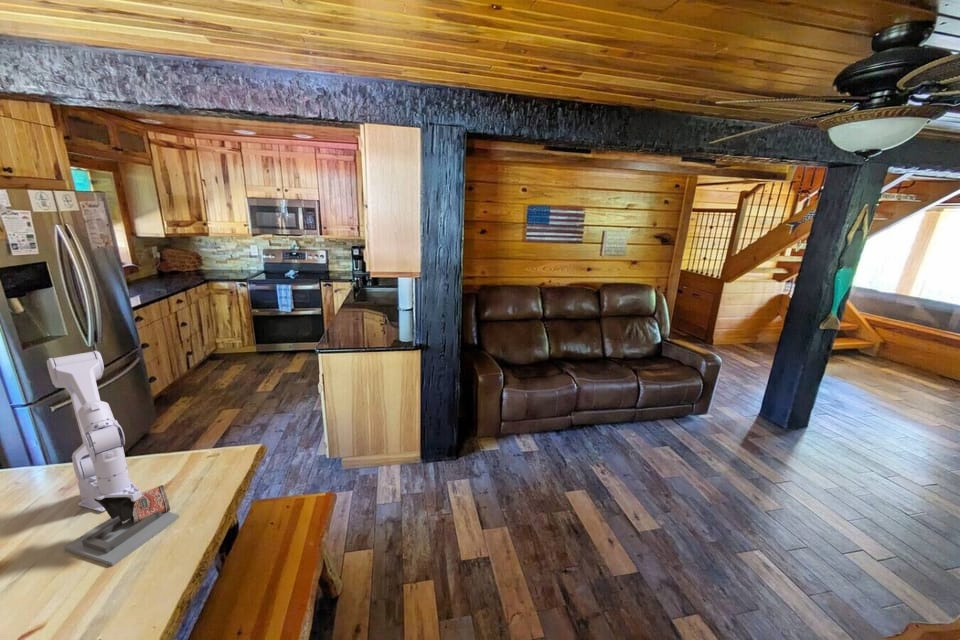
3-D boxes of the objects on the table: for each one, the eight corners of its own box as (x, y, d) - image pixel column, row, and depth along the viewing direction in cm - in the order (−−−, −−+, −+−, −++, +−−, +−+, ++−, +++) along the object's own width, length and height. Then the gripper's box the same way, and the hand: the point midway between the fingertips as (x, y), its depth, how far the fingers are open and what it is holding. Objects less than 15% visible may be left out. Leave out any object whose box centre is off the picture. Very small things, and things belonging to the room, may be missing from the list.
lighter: (170, 507, 105) (122, 526, 97) (169, 513, 107) (121, 532, 99) (162, 482, 108) (114, 498, 101) (161, 488, 110) (114, 504, 102)
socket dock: (64, 550, 94) (62, 541, 93) (136, 505, 109) (134, 498, 108) (112, 566, 90) (110, 557, 90) (179, 517, 105) (178, 510, 105)
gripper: (71, 475, 93) (82, 522, 96) (114, 487, 90) (125, 535, 93) (104, 459, 100) (114, 503, 103) (147, 469, 96) (155, 514, 100)
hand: (122, 517), depth 98 cm, fingers open, 3 cm apart
